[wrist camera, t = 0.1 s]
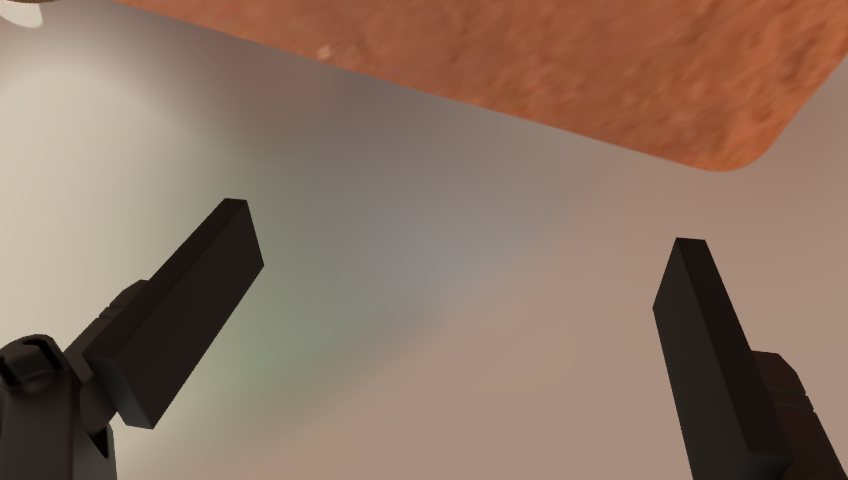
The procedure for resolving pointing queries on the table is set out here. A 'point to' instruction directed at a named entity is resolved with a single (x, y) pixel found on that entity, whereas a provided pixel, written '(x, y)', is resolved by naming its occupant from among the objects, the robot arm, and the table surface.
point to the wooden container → (33, 1)
